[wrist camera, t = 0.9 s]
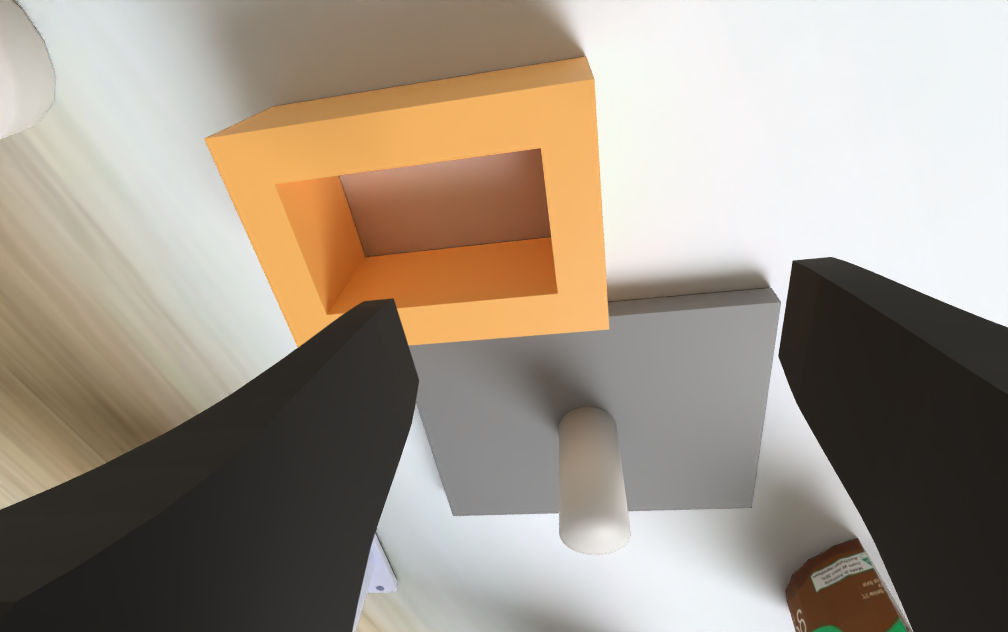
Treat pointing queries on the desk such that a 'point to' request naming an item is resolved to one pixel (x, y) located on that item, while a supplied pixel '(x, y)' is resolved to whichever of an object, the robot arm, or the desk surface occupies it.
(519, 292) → the link
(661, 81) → the desk surface
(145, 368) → the desk surface
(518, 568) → the desk surface
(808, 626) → the food container
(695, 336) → the plate
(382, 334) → the robot arm
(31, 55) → the bottle
